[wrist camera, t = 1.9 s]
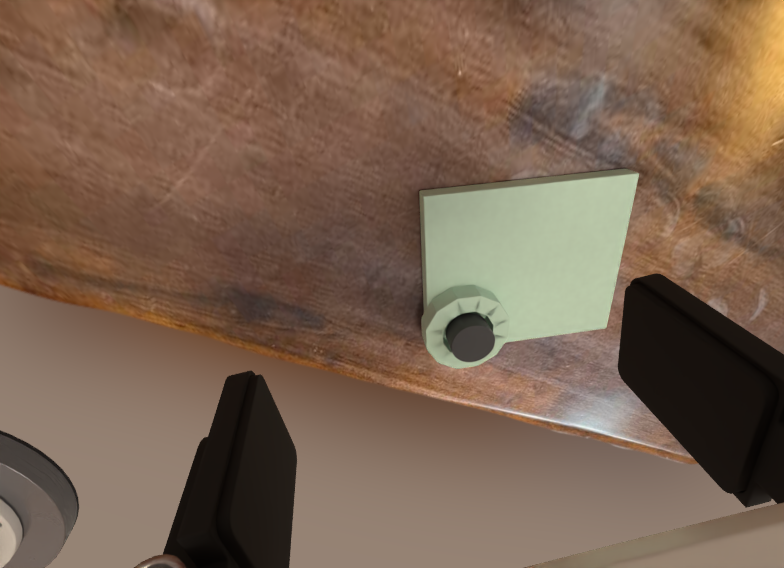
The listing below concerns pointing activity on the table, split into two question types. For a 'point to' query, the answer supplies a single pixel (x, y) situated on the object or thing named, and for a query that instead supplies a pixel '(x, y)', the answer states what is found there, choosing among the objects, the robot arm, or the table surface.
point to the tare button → (470, 337)
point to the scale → (523, 256)
